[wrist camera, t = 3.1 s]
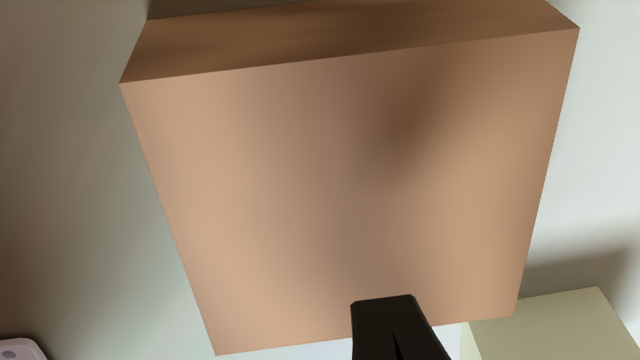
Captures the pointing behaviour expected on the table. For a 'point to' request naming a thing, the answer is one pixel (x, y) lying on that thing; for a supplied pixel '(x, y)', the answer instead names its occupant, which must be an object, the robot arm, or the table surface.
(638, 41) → the table surface
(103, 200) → the table surface
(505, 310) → the plain walnut block
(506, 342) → the numbered block seven
